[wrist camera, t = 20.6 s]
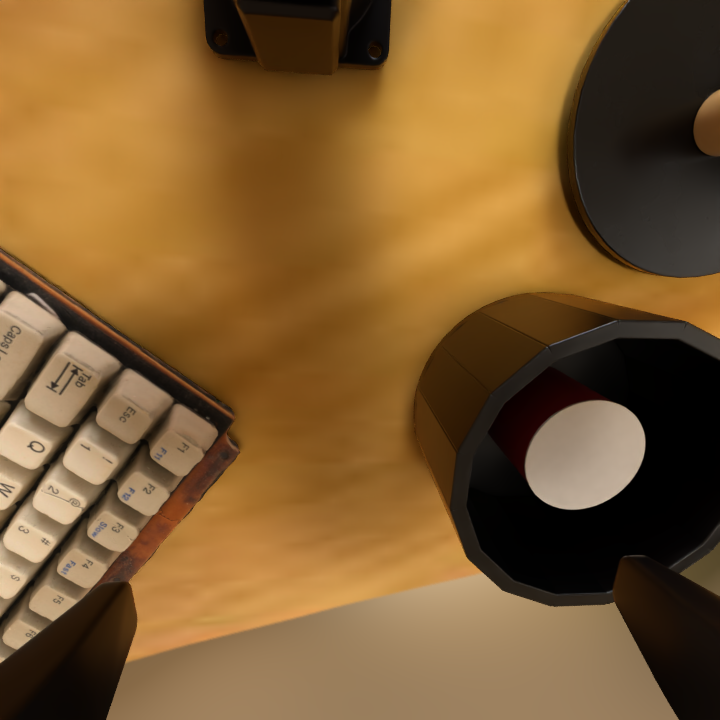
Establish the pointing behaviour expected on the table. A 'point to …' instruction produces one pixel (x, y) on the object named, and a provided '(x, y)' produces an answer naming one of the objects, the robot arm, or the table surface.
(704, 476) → the tin
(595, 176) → the tin lid
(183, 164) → the table surface
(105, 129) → the table surface
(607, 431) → the coffee pod
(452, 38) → the table surface
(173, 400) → the mechanical keyboard
